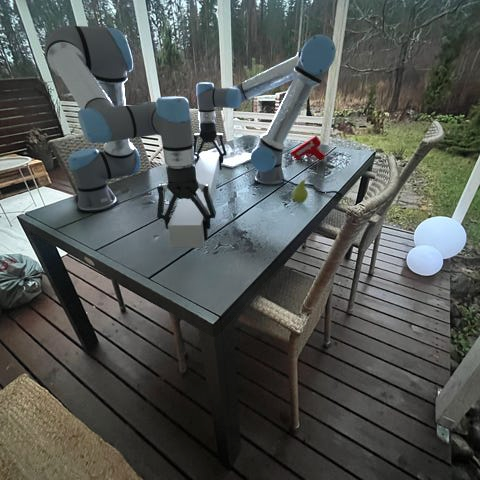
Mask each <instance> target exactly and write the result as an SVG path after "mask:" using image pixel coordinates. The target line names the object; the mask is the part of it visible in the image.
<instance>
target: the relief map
mask: <svg viewBox="0 0 480 480" xmlns="http://www.w3.org/2000/svg"><path fill="white" fill-rule="evenodd" d="M224 145H225V148H226V152H227V154H226V155H225V156H223V163H221V167H222V166H223V167H228V168H231V169H233V168H234V169H235V168H236V167H238V166H241V165H242V164H246V163H248V162H251V153H250V152H248V151H246V150H245V149H244V148H243V147H240V148H237V149H234V148H232V147H231V146H230V145H229V144H224ZM219 147H220V149H221V151H222V153H223V149H222V145H220V146H219ZM201 153H219V152H218V151H217V149H216V147H215V148H212V149H209V150H205V151H201V152H200V154H199V156H200V155H201ZM194 157H195V160H197V157H196V156H194Z"/></svg>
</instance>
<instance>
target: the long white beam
mask: <svg viewBox="0 0 480 480" xmlns="http://www.w3.org/2000/svg"><path fill="white" fill-rule="evenodd" d="M200 153H201V152H200ZM219 155H220V154H219V153H201V155H200V157H199V160H198V162H197V161H196V164H195V168H196V178H197V182H198V183H199V184H205V183H208V184H209V193H210V196H211V199H212V202H213V203H214V200H215V195H216V190H217V186H218V181H219V177H220V172H221V170H220V166H219ZM196 193H197V194H198V197H199V198H200V200H201V201H202V203H203V204H204V206H205V208H206V209H207V211H208V212H209V209H208V206H207V204H206V201H205V198H204V194H203V192H201V190H200V189H199V188H198V189H197V191H196ZM209 213H210V212H209ZM170 217H171V219H170V221H169V223H168V229H167V230H168V235H169V241H170V246H171V249H204V248H205V247H204V246H205V242H206V240H204V230H203V218H204V217H203V215H202V214H201V212H200V211H199V210H198V208H197V207H196V205H195V204H194V202H192V200H191V199H185V198H183V199H178V202H177V205H176V206H175V209H174V211H173V213H172V214H171V216H170Z"/></svg>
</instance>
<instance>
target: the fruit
mask: <svg viewBox="0 0 480 480" xmlns="http://www.w3.org/2000/svg"><path fill="white" fill-rule="evenodd" d="M310 177H311V175H310V174H309V175H308V176H307V177H305V179H302V180H301V181H300V182H298V183H297V184H298V186H295V187H294V188H293V190H292V191H291V198H292V200H293V201H294V202H295V203H297V204H301V203H304V202H305V201H306V200H307V198H308V196H309V195H308V190H307V189H306V186H305V184H306V180H308V179H309V178H310Z"/></svg>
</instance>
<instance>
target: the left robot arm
mask: <svg viewBox="0 0 480 480" xmlns="http://www.w3.org/2000/svg"><path fill="white" fill-rule="evenodd" d="M44 56H45V59H46V62H47V64H48V66H49V67H50V68H51V70H52V71H53V73H54V74H56V75H57V76H58V77H60V78H61V80H62V82H63V84H64V85H65V86H66V88H67V90H68V91H69V93H70V95H71V96H72V98H73V99H74V101H75V103H76V104H77V106H78V108H79V110H78V111H77V118H78V123H79V126H80V129H81V132H82V134H83V136H84V138H85V140H86V141H87V142H89V144H90V143H91V144H99V143H101V144H102V143H104V144H103V150H101V151H99V150H98V149H97V148H93V147H91V148H83V149H80V150H76V151H75V152H73V153H71V154H70V155H68V157H67V162H68V166H69V170H70V172H71V174H72V177H73V180H74V183H75V186H76V189H77V192H78V193H77V194H78V195H76V196H75V198H76V199H77V201H78V202H77V206H78V209H79V210H80V212H83V213H89V214H91V213H92V214H93V213H101V212H104V211H107V210H110V209H112V208H114V207H115V206H116V205H117V203H118V200H117V197H116V196H115V194H114V193H113V191H112V190H111V189H110V187H109V185H108V180H109V181H110V180H113V179H114V180H115V179H118V178H122V177H123V178H124V177H127V176H128V177H129V176H132V175H135V174H137V173H139V172H140V169H141V158H140V154H139V151H138V149H137V148H136V147H135V146H134V145H133V143H132V142H130V140H131V139H137V138H144V137H151V136H152V137H153V136H159V137H160V138H161V144H162V151H163V157H164V163H165V165H166V166H165V169H166V170H165V171H166V176H167V177H166V178H167V183H164V184H163V183H162V182H160V183H159V184H158V186H157V187H156V191H157V193H158V200H157V213H156V218H157V219H159V220H160V219H162V220H164V227H165V229H166V230H168V223H169V221H170V219H171V217H172V216H171V215H172V214H171V213H172V211H173V209H174V207H175V204H176V202H177V199H178V200H180V199H183V198H185V199H191V200H192V202H194V204H195V205H196V207H197V208H198V210H199V211H200V212H201V214H202V215H203V217H204V218H203V230H204V240H205V241H207V240H208V238H209V237H208V236H209V233H208V232H209V231H208V230H210V229H211V226H212V224H211V219H216V216H217V215H216V214H217V211H216V208H215V205H214V201H213V202H212V199H211V196H210V193H209V184H208V183H205V184H199V183H198V182H197V178H196V168H195V166H196V164H195V162H196V159H195V157H194V147H193V146H194V136H193V127H192V126H193V125H192V114H191V110H190V103H189V102H190V101H189V100H188V99H187V98H186V97H185V96H162V97H158V98H157V99H156V101H146V102H144V103H140V104H127V103H126V96H125V95H126V94H125V85H124V84H125V83H126V82H127V81H128V73H130V72H132V71H133V69H134V60H133V55H132V52H131V48H130V46H129V43H128V41H127V39H126V37H125V36H124V34H123V32H122V31H120V29H117V28H112V27H108V26H87V25H74V24H73V25H70V24H66V25H61V26H59V27H57V28H55V29H54V30H52V31H51V32H50V33H49V34H48V36H47V37H46V40H45V43H44ZM126 104H127V105H126ZM198 188H199V189H200V190H201V192H203V194H204V198H205V201H206V204H207V206H208V209H209V212H210V213H209V212H208V211H207V209H206V208H205V206H204V204H203V203H202V201H201V200H200V198H199V197H198V194H197V193H196V191H197V189H198ZM167 191H169V192H171V194H172V197H171V199H170V202H169V204H168V207H167V209H166V211H165V210H164V209H165V200H166V192H167ZM164 211H165V212H164Z"/></svg>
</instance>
